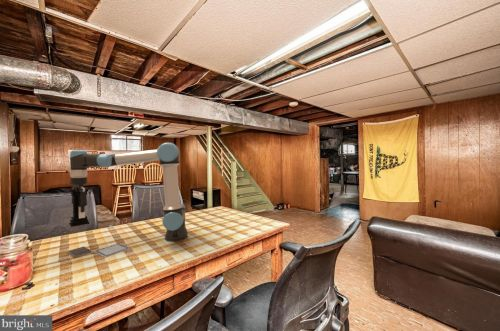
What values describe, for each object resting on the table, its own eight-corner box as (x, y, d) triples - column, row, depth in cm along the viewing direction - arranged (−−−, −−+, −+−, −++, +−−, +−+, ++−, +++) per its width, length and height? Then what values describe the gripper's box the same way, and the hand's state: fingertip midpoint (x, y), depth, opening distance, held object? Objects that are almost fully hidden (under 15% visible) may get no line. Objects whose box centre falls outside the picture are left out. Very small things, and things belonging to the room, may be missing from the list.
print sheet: (119, 243, 132) (119, 242, 132) (130, 248, 124) (130, 247, 124) (93, 251, 120) (93, 250, 120) (104, 257, 112) (104, 256, 112)
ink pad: (84, 248, 124) (84, 246, 124) (91, 252, 119) (91, 249, 119) (67, 253, 117) (67, 250, 117) (74, 257, 112) (74, 255, 112)
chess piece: (69, 223, 118) (68, 189, 118) (86, 221, 124) (86, 188, 123) (71, 226, 112) (70, 190, 112) (89, 223, 118) (89, 189, 118)
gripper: (64, 176, 120) (64, 215, 120) (77, 178, 109) (78, 221, 109) (79, 176, 126) (80, 213, 126) (94, 177, 116) (94, 217, 116)
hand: (79, 216), depth 118 cm, fingers closed on chess piece, 7 cm apart
